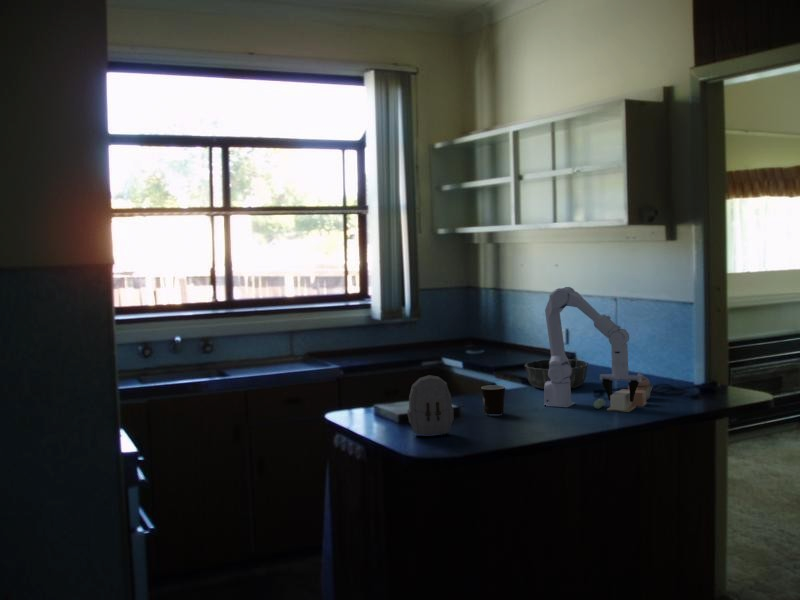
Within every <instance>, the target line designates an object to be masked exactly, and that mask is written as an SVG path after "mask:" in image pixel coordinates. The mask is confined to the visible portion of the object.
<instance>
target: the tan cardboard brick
mask: <svg viewBox="0 0 800 600" xmlns="http://www.w3.org/2000/svg"><path fill="white" fill-rule="evenodd" d="M619 391H626V392H630V390H629V389H628V388H627V389H626V388H625V389H624V388H622V389H621V388H620V390H619ZM646 405H647V400H646V390H636V391H635V395H634V401H633V402H632V405H631V406H635V407H644V406H646Z"/></svg>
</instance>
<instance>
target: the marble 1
mask: <svg viewBox="0 0 800 600" xmlns="http://www.w3.org/2000/svg"><path fill="white" fill-rule="evenodd" d="M593 407H594V408H595V409H597V410H599V409H601V408H602V407H603V406H602V403H601V401H599V400H598V399H597V400H595V401H593Z"/></svg>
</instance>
